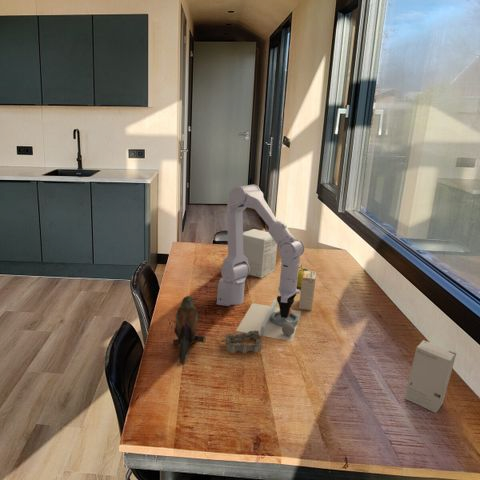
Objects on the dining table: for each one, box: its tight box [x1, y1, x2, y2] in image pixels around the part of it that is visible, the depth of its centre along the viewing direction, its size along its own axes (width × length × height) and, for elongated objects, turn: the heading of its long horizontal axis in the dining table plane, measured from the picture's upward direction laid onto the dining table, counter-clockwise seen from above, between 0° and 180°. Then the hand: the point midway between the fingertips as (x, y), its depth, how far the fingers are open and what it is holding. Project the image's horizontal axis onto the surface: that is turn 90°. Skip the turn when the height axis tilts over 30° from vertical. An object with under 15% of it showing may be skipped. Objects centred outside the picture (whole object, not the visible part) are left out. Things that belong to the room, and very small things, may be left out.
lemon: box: [297, 264, 309, 288], centre depth 177 cm, size 7×6×10 cm
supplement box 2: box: [298, 270, 317, 311], centre depth 158 cm, size 8×5×13 cm, turn 168°
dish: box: [271, 311, 300, 327], centre depth 145 cm, size 9×9×2 cm
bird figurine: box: [172, 295, 207, 365], centre depth 125 cm, size 13×10×20 cm
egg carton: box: [224, 331, 263, 354], centre depth 128 cm, size 11×8×4 cm
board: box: [235, 302, 302, 342], centre depth 145 cm, size 18×23×1 cm
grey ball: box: [282, 323, 296, 336], centre depth 135 cm, size 4×4×4 cm
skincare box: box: [403, 340, 457, 414], centre depth 106 cm, size 8×6×15 cm
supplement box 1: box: [243, 228, 278, 279], centre depth 192 cm, size 13×13×18 cm
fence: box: [260, 298, 278, 337], centre depth 144 cm, size 1×23×3 cm, turn 165°
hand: (285, 314), depth 144 cm, fingers closed on rust ball, 4 cm apart
